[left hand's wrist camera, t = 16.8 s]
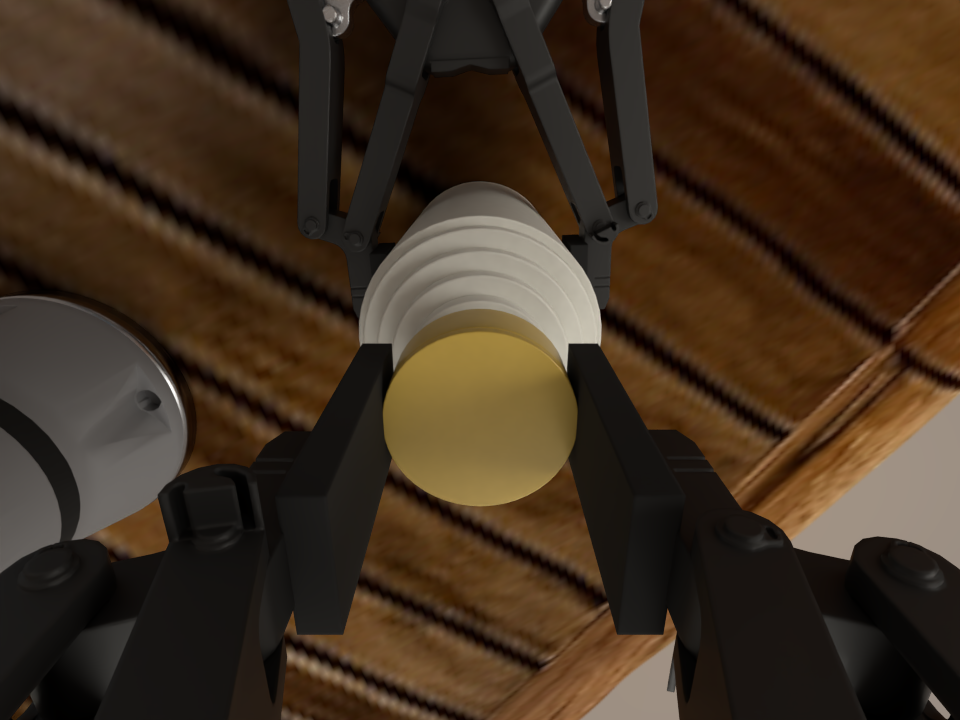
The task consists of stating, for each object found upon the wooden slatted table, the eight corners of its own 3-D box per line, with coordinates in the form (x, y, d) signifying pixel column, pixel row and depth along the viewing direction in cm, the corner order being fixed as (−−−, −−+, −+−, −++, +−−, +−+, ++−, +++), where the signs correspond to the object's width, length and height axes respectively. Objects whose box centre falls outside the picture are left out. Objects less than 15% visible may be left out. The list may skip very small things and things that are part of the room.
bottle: (525, 334, 34) (581, 575, 15) (397, 300, 33) (289, 509, 14) (568, 204, 31) (702, 303, 12) (429, 163, 30) (347, 201, 12)
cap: (544, 286, 14) (553, 307, 12) (583, 444, 15) (596, 481, 13) (367, 335, 14) (352, 362, 12) (424, 483, 16) (417, 524, 14)
